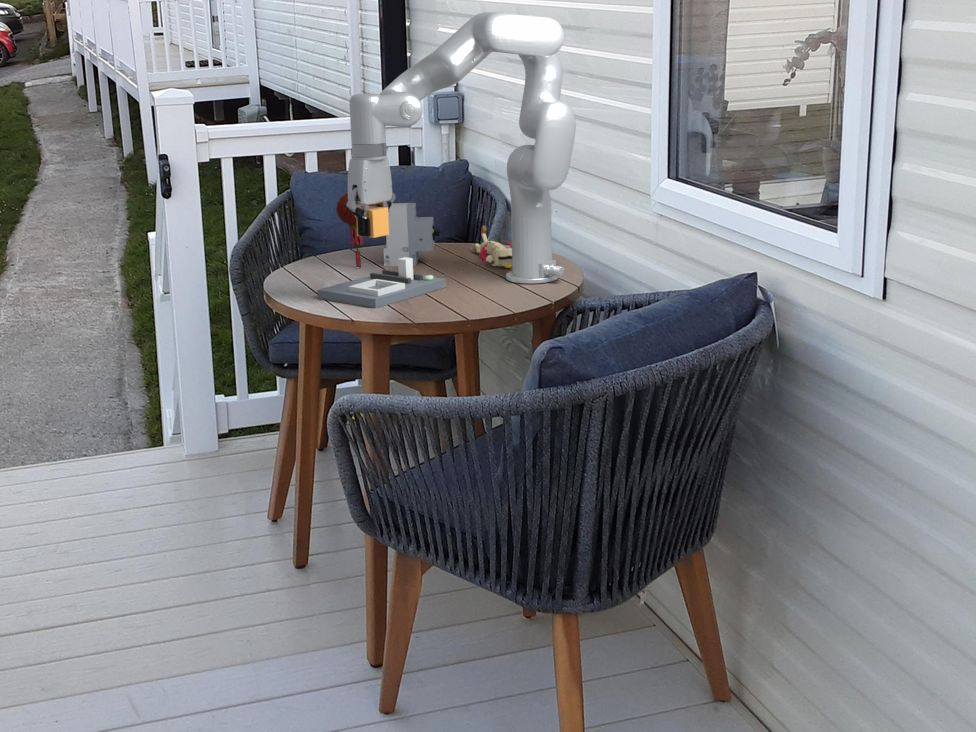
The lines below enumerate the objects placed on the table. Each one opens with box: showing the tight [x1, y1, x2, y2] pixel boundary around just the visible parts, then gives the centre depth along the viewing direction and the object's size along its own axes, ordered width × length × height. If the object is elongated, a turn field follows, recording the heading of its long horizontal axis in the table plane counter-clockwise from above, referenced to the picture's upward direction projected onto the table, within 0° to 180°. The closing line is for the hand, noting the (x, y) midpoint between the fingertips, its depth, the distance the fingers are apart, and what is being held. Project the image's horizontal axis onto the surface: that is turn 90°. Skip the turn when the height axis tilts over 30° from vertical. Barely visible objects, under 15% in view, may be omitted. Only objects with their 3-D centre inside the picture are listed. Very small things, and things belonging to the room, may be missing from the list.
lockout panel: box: [316, 269, 447, 309], centre depth 270 cm, size 18×24×3 cm
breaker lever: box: [397, 257, 414, 280], centre depth 272 cm, size 2×2×5 cm
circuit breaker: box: [382, 202, 441, 267], centre depth 301 cm, size 8×14×15 cm, turn 89°
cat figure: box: [472, 225, 512, 268], centre depth 302 cm, size 10×9×25 cm
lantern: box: [336, 148, 374, 268], centre depth 294 cm, size 10×10×30 cm
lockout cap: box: [356, 205, 389, 239], centre depth 260 cm, size 5×5×6 cm
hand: (373, 233), depth 260 cm, fingers closed on lockout cap, 4 cm apart
